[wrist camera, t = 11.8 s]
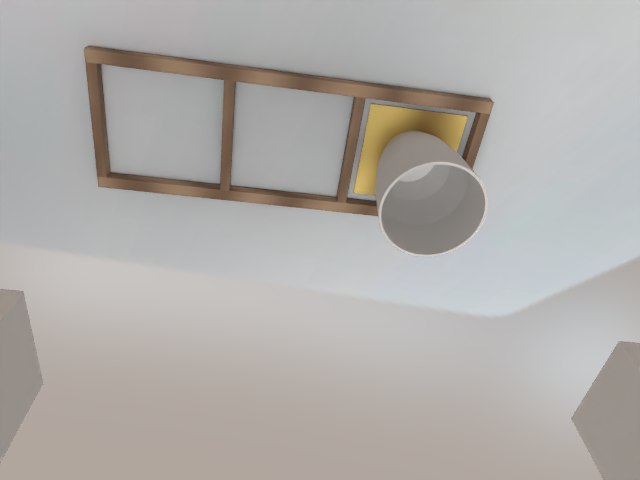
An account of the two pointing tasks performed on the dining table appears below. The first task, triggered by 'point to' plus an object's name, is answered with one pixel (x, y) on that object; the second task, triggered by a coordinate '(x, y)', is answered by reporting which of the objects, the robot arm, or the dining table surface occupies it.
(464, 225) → the cup
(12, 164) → the dining table surface
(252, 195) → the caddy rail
